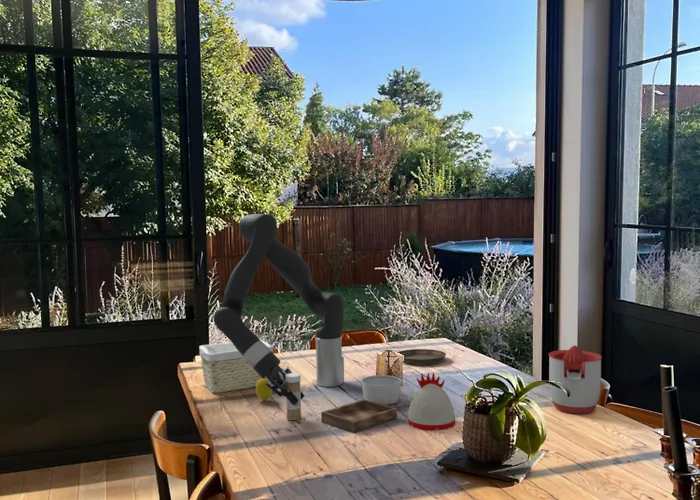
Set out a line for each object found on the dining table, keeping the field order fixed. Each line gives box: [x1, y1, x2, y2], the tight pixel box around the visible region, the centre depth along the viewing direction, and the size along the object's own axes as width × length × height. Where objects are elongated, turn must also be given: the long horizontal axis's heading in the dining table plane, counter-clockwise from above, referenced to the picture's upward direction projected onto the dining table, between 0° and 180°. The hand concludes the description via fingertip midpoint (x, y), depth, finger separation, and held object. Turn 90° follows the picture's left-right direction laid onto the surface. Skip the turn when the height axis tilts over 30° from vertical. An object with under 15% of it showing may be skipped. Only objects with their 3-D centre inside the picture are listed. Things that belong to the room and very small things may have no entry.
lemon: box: [255, 378, 273, 402], centre depth 217 cm, size 6×6×8 cm
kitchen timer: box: [407, 372, 456, 432], centre depth 192 cm, size 14×14×15 cm
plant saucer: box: [396, 348, 447, 366], centre depth 270 cm, size 21×21×3 cm
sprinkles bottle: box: [285, 372, 302, 421], centre depth 197 cm, size 5×5×14 cm
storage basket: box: [198, 339, 274, 394], centre depth 237 cm, size 24×16×15 cm
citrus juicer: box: [548, 344, 603, 415], centre depth 201 cm, size 16×17×20 cm
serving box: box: [320, 398, 398, 434], centre depth 195 cm, size 18×14×3 cm
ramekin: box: [360, 374, 402, 406], centre depth 215 cm, size 13×13×7 cm
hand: (299, 400), depth 197 cm, fingers closed on sprinkles bottle, 4 cm apart
